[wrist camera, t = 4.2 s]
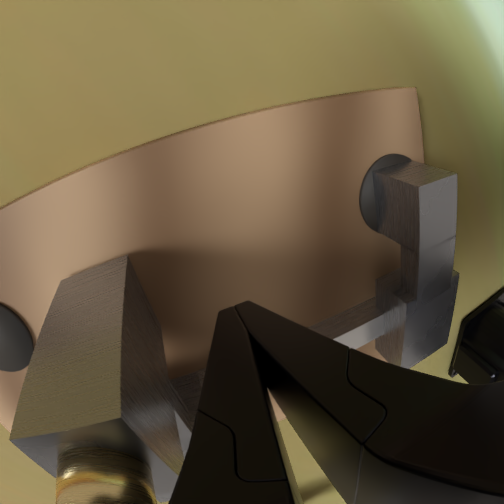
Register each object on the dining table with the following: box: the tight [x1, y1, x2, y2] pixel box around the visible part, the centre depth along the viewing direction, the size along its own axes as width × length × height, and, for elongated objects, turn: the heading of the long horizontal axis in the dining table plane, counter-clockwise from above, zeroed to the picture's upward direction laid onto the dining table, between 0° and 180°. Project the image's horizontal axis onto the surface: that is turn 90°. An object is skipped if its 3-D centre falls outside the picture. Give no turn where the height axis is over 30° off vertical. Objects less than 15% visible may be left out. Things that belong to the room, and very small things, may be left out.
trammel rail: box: [9, 160, 459, 439], centre depth 10 cm, size 20×8×3 cm, turn 103°
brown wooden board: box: [0, 87, 424, 433], centre depth 12 cm, size 22×14×1 cm, turn 103°
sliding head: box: [9, 254, 203, 504], centre depth 8 cm, size 4×8×7 cm, turn 13°
